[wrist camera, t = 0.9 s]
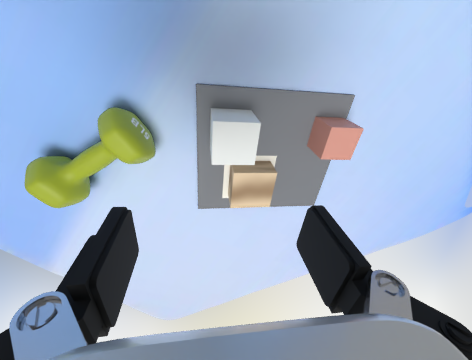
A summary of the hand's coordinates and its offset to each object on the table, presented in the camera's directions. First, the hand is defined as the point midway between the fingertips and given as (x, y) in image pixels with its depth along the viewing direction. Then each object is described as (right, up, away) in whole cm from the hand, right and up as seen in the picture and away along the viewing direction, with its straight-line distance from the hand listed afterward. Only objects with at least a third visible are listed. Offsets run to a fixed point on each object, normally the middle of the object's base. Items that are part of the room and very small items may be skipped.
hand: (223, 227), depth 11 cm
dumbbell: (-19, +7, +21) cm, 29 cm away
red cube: (+16, +11, +24) cm, 30 cm away
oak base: (+3, +3, +26) cm, 27 cm away
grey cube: (0, +10, +21) cm, 23 cm away
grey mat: (+6, +7, +25) cm, 27 cm away
